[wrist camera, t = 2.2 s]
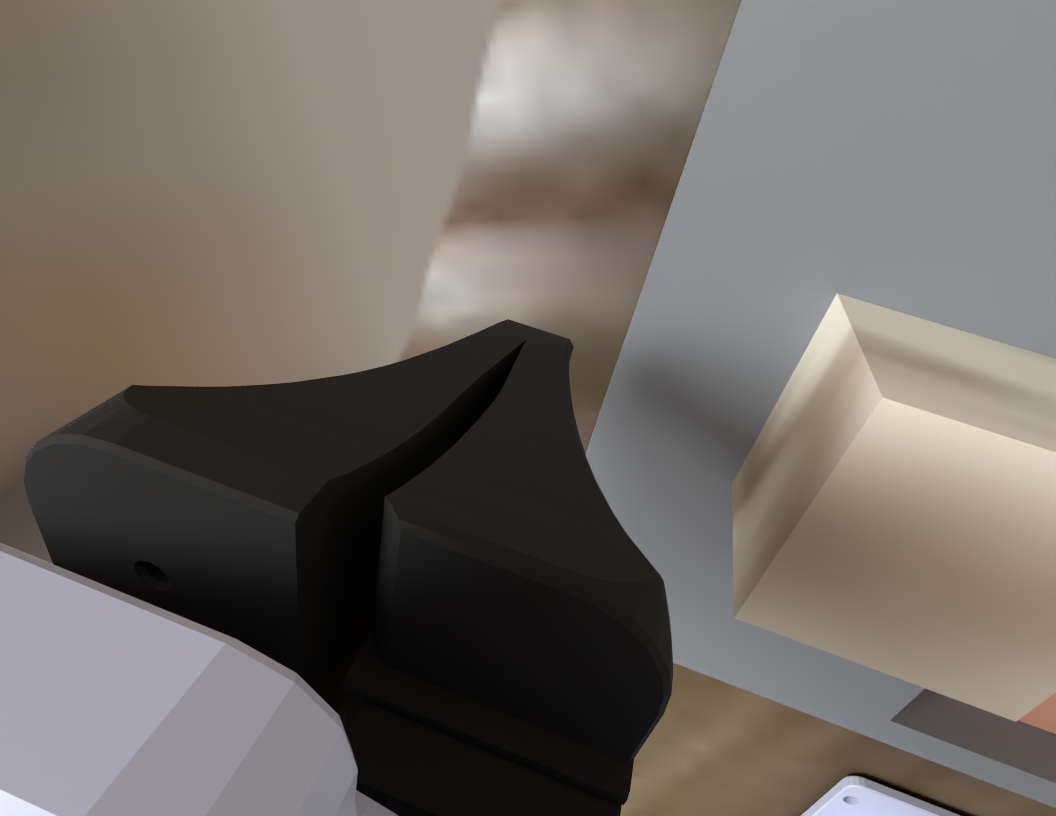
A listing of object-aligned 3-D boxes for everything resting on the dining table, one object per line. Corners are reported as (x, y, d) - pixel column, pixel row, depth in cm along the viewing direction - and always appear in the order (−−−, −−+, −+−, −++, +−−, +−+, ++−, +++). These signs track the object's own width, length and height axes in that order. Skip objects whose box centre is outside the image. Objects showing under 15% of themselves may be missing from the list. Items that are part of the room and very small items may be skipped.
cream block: (945, 557, 14) (1016, 721, 10) (731, 483, 14) (733, 617, 11) (1112, 375, 11) (1283, 524, 7) (837, 293, 11) (882, 397, 8)
